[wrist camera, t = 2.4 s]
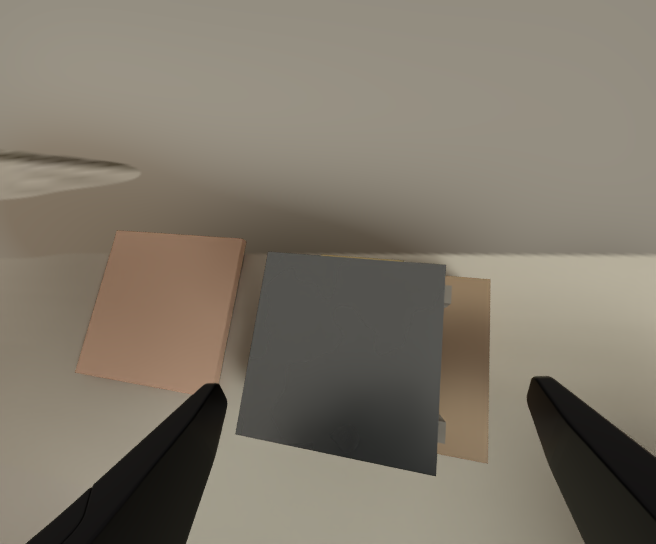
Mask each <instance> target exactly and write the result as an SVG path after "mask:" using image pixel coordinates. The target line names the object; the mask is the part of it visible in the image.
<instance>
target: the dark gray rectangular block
mask: <svg viewBox="0 0 656 544" xmlns="http://www.w3.org/2000/svg"><path fill="white" fill-rule="evenodd" d="M445 274H446V265H440V264H427V263H414V262H404V261H401V260H388V259H374V258H361V257H347V256H334V255H321V256H320V255H306V254H293V253H279V252H268V255H267V260H266V266H265V272H264V277H263V283H262V288H261V294H260V299H259V305H258V311H257V316H256V322H255V327H254V333H253V339H252V344H251V350H250V355H249V361H248V366H247V372H246V378H245V383H244V389H243V394H242V400H241V405H240V411H239V417H238V422H237V428H236V433H235V434H236V435H241V436H246V437H251V438H255V439H260V440H265V441H270V442H275V443H279V444H284V445H289V446H294V447H298V448H303V449H308V450H313V451H318V452H322V453H327V454H332V455H337V456H341V457H346V458H351V459H356V460H361V461H365V462H370V463H375V464H380V465H384V466H389V467H394V468H399V469H403V470H408V471H413V472H418V473H423V474H427V475H432V476H436V464H437V443H438V422H439V401H440V379H441V358H442V337H443V316H444V295H445Z"/></svg>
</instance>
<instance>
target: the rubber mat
mask: <svg viewBox="0 0 656 544" xmlns="http://www.w3.org/2000/svg"><path fill="white" fill-rule="evenodd" d="M245 247H246V241H245V240H244V239H240V238H225V237H210V236H195V235H179V234H165V233H150V232H134V231H118V230H117V232H116V235H115V239H114V242H113V245H112V249H111V252H110V255H109V259H108V262H107V265H106V269H105V272H104V276H103V279H102V282H101V286H100V289H99V293H98V296H97V299H96V303H95V306H94V309H93V313H92V316H91V320H90V323H89V326H88V330H87V333H86V337H85V340H84V343H83V347H82V350H81V353H80V357H79V360H78V364H77V367H76V370H75V373H80V374H86V375H91V376H96V377H102V378H107V379H113V380H118V381H123V382H129V383H134V384H139V385H145V386H150V387H156V388H161V389H166V390H172V391H177V392H182V393H188V394H194V393H195V392H196V391H197V390H198V389H199V388H200V387H202V386H203V385H204V384H206V383H218V384H219V379H220V374H221V369H222V364H223V359H224V354H225V349H226V344H227V338H228V333H229V328H230V323H231V318H232V313H233V308H234V303H235V298H236V293H237V288H238V282H239V277H240V272H241V267H242V262H243V257H244V252H245Z"/></svg>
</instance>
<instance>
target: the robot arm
mask: <svg viewBox="0 0 656 544" xmlns="http://www.w3.org/2000/svg"><path fill="white" fill-rule="evenodd" d="M527 403H528V407H529V410H530V412H531V415H532V418H533V421H534V424H535V427H536V430H537V433H538V436H539V439H540V441H541V444H542V447H543V450H544V453H545V456H546V459H547V461H548V464H549V466H550V469H551V471H552V473H553V476H554V478H555V480H556V482H557V484H558V486H559V489H560V491H561V493H562V495H563V497H564V499H565V501H566V504H567V506H568V508H569V510H570V512H571V514H572V517H573V519H574V521H575V523H576V525H577V527H578V530H579V532H580V534H581V536H582V538H583V540H584V542H585V544H656V457H655V456H653V455H652V454H651V453H649V452H648V451H647V450H646V449H644V448H643V447H642V446H640V445H639V444H638V443H636V442H635V441H634V440H633V439H631V438H630V437H629V436H627V435H626V434H625V433H624V432H622V431H621V430H620V429H618V428H617V427H616V426H614V425H613V424H612V423H611V422H609V421H608V420H607V419H605V418H604V417H603V416H601V415H600V414H599V413H598V412H596V411H595V410H594V409H592V408H591V407H590V406H589V405H587V404H586V403H585V402H583V401H582V400H581V399H579V398H578V397H577V396H576V395H574V394H573V393H572V392H570V391H569V390H568V389H566V388H565V387H564V386H563V385H561V384H560V383H559V382H557V381H556V380H555V379H553V378H552V377H549V376H535V377H533V378H532V379H531V382H530V386H529V390H528V394H527ZM226 410H227V399H226V397H225V395H224V393H223V390H222V388H221V386H220V385H219V384H218V383H206V384H204V385H203V386H202V387H200V388H199V389H198V390H197V391H196V392H195V393H194V394H193V395H192V396H191V397H189V398H188V399H187V400H186V401H185V402H184V403H183V404H182V405H181V406H180V407H178V408H177V409H176V410H175V411H174V412H173V413H172V414H171V415H170V416H169V417H167V418H166V419H165V420H164V421H163V422H162V423H161V424H160V425H159V426H158V427H156V428H155V429H154V430H153V431H152V432H151V433H150V434H149V435H148V436H147V437H145V438H144V439H143V440H142V441H141V442H140V443H139V444H138V445H137V446H135V447H134V448H133V449H132V450H131V451H130V452H129V453H128V454H127V455H126V456H124V457H123V458H122V459H121V460H120V461H119V462H118V463H117V464H116V465H115V466H113V467H112V468H111V469H110V470H109V471H108V472H107V473H106V474H105V475H104V476H102V477H101V478H100V479H99V480H98V481H97V482H96V483H95V484H94V485H93V487H91V488H89V489H88V490H87V491H86V492H85V493H84V494H83V495H81V496H80V497H79V498H78V499H77V500H76V501H75V502H74V503H73V504H71V505H70V506H69V507H68V508H67V509H66V510H65V511H63V512H62V513H61V514H60V515H59V516H58V517H57V518H56V519H54V520H53V521H52V522H51V523H50V524H48V525H47V526H46V527H45V528H44V529H43V530H41V531H40V532H39V533H38V534H37V535H35V536H34V537H33V538H32V539H31V540H29V541H28V542H27V543H26V544H186V541H187V539H188V536H189V533H190V530H191V527H192V524H193V521H194V518H195V515H196V512H197V509H198V506H199V503H200V500H201V497H202V494H203V492H204V489H205V486H206V483H207V480H208V477H209V474H210V471H211V468H212V465H213V462H214V459H215V455H216V451H217V448H218V443H219V439H220V435H221V431H222V426H223V422H224V418H225V414H226Z"/></svg>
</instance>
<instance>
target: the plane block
mask: <svg viewBox="0 0 656 544" xmlns="http://www.w3.org/2000/svg"><path fill="white" fill-rule="evenodd" d="M489 344H490V279H479V278H467V277H454V276H445V295H444V316H443V337H442V358H441V379H440V401H439V422H438V443H437V454H441V455H446V456H451V457H457V458H462V459H467V460H472V461H477V462H482V463H487V464H488V413H489Z"/></svg>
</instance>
